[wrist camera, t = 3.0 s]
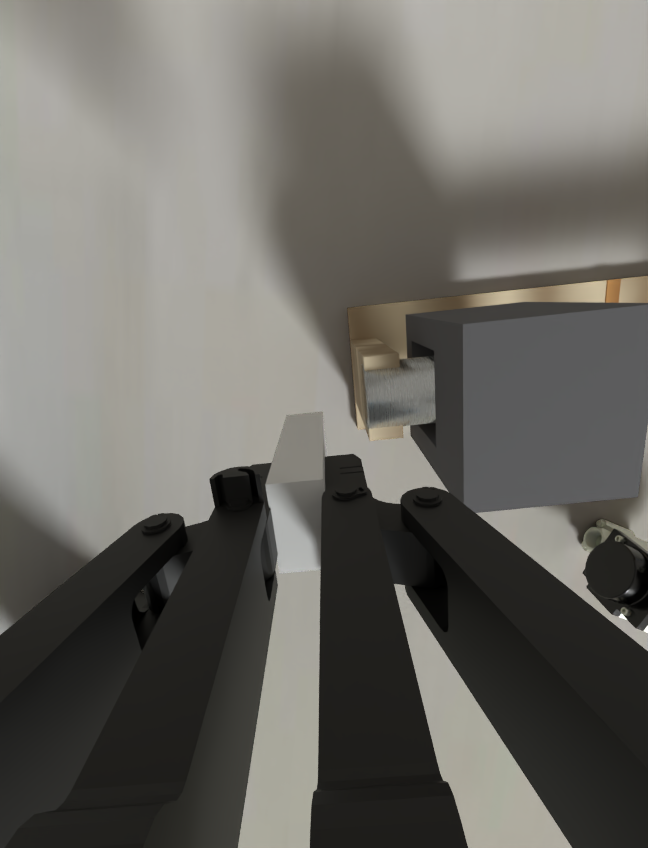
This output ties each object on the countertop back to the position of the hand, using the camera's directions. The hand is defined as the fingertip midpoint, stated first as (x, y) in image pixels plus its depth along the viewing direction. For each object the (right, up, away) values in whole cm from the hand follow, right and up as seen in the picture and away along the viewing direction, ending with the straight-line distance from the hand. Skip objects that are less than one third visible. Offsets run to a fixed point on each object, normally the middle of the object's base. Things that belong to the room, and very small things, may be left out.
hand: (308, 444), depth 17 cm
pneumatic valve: (+27, -10, +23) cm, 37 cm away
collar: (+11, +4, +12) cm, 16 cm away
